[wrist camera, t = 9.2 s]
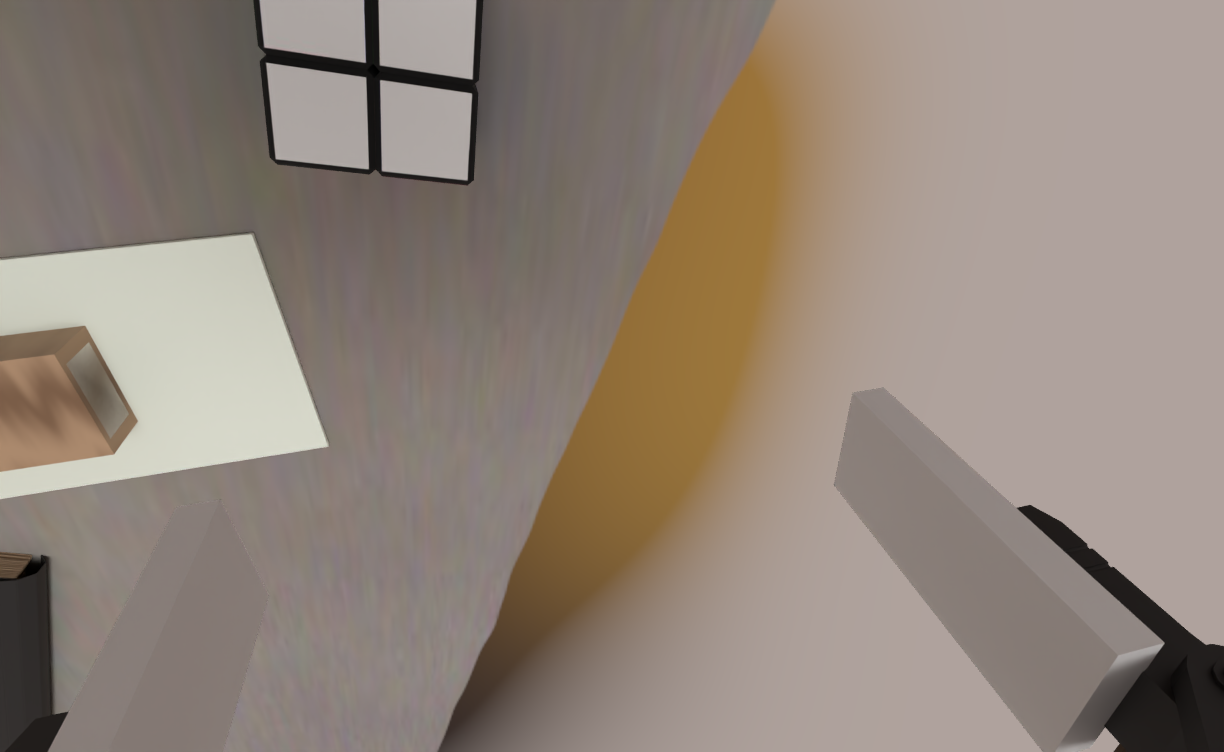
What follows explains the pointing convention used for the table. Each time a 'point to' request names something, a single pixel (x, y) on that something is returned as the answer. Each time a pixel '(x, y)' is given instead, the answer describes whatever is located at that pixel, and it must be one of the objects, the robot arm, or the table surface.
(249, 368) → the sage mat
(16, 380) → the walnut block
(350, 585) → the table surface
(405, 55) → the puzzle cube
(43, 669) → the file folder
